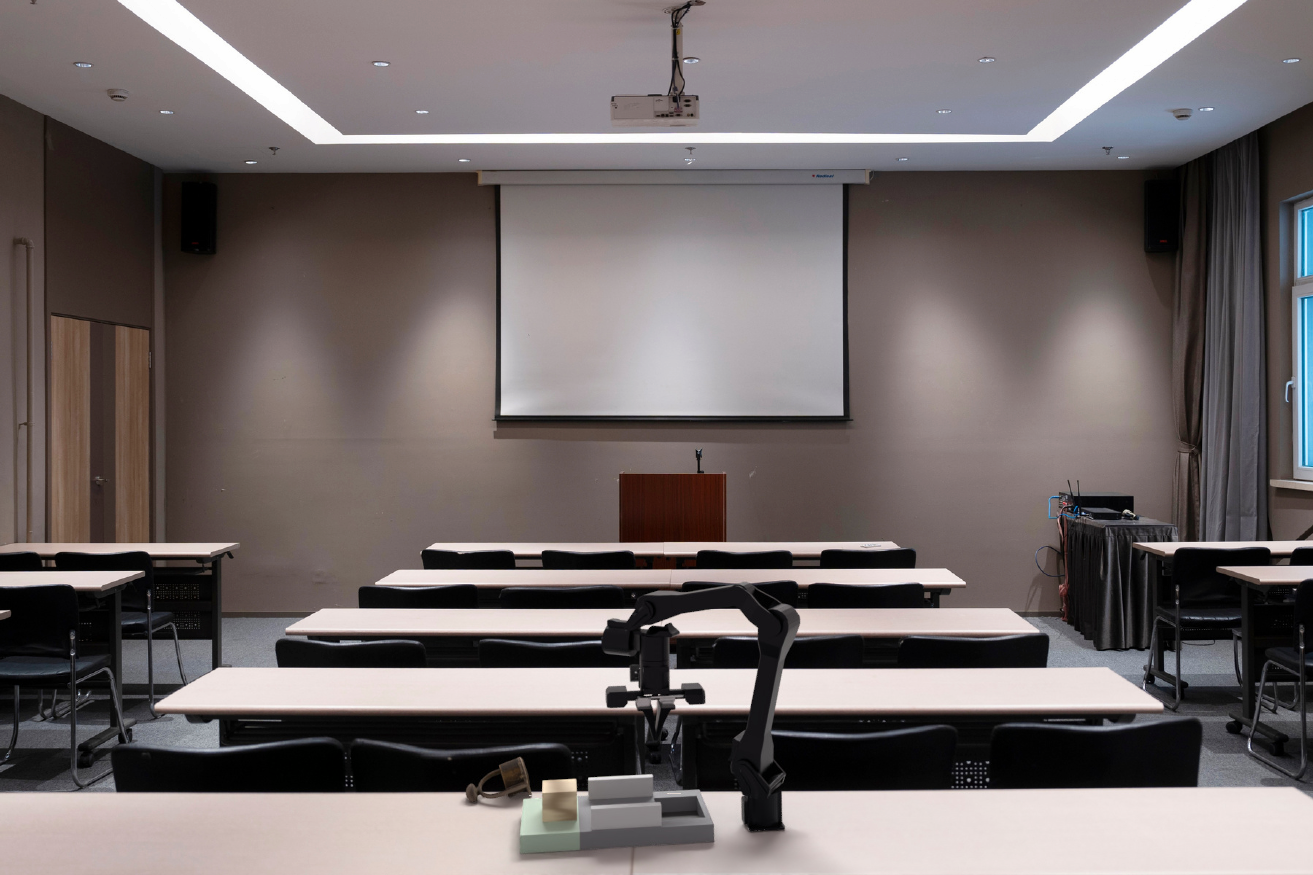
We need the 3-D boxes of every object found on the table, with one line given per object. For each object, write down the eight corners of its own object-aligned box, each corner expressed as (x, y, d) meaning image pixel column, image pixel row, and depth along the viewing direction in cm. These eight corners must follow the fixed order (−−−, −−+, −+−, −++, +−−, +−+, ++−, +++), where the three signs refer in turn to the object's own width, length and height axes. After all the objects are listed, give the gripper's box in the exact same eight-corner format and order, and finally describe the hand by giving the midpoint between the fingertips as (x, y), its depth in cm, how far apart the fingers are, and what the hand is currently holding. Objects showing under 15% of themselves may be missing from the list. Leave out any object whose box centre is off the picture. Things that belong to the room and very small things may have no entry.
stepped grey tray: (699, 805, 169) (699, 770, 169) (714, 841, 153) (713, 803, 153) (523, 815, 165) (523, 779, 165) (519, 853, 149) (519, 814, 150)
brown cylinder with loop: (528, 779, 169) (539, 750, 179) (462, 772, 170) (476, 744, 180) (527, 812, 171) (537, 782, 181) (461, 806, 171) (475, 776, 181)
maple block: (576, 806, 161) (576, 778, 162) (577, 819, 156) (576, 791, 156) (542, 808, 161) (542, 780, 161) (542, 821, 155) (542, 792, 155)
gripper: (696, 647, 180) (697, 725, 179) (603, 650, 178) (604, 729, 177) (705, 660, 169) (706, 743, 168) (606, 663, 167) (607, 747, 166)
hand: (655, 740), depth 170 cm, fingers closed
